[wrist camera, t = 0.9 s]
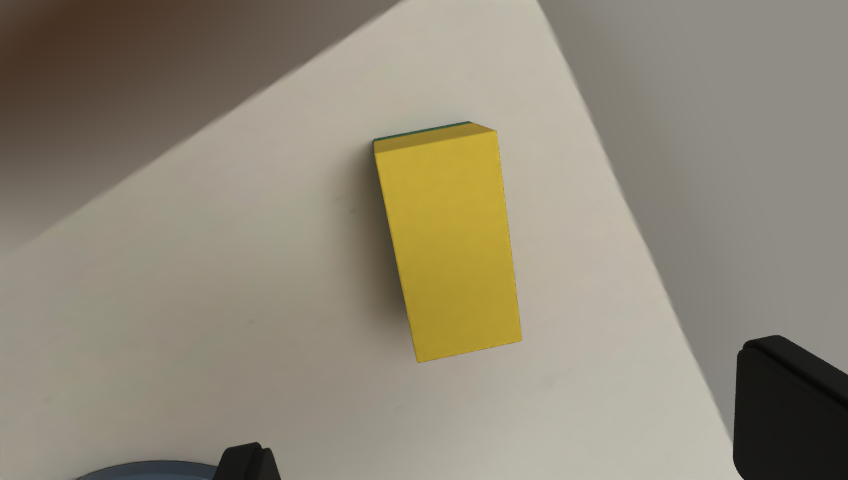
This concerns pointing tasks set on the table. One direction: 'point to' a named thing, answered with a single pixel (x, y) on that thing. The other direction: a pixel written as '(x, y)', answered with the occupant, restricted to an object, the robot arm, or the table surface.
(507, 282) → the sponge
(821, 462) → the robot arm
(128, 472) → the plate
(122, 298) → the table surface
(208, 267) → the table surface
